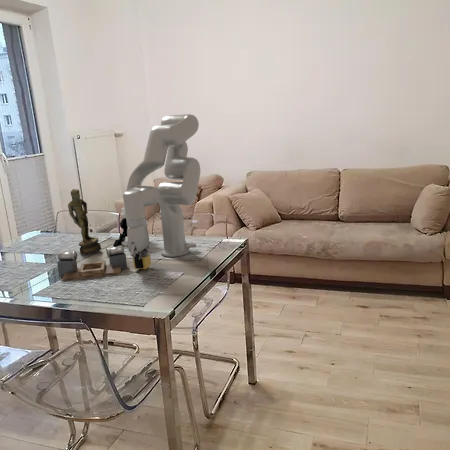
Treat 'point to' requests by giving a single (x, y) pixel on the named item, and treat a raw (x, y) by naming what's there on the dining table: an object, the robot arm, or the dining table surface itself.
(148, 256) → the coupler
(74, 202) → the statue
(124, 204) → the robot arm
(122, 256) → the shaft
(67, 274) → the bed
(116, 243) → the robot toy
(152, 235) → the dining table surface
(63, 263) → the shaft
